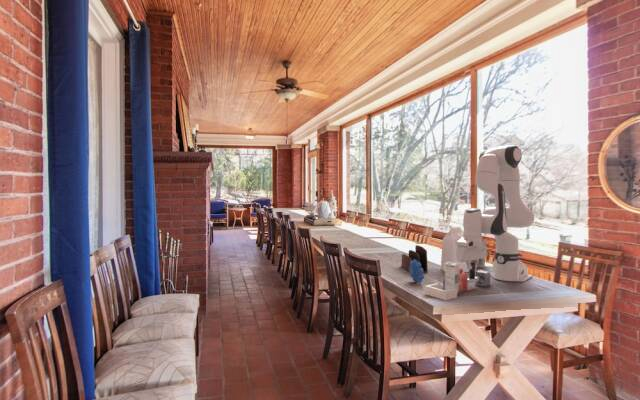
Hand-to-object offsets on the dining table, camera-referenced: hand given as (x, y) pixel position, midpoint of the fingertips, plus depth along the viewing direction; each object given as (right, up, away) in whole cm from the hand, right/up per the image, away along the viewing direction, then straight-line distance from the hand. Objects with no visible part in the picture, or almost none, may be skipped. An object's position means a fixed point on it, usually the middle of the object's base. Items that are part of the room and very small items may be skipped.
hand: (472, 268), depth 204 cm
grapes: (-26, -10, +12) cm, 30 cm away
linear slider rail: (+2, -9, +1) cm, 9 cm away
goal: (-19, -10, -13) cm, 25 cm away
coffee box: (+22, -7, +52) cm, 57 cm away
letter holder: (-19, -8, +43) cm, 48 cm away
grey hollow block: (+7, -9, +5) cm, 13 cm away
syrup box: (-13, -10, -9) cm, 19 cm away
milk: (+5, -8, +40) cm, 41 cm away
